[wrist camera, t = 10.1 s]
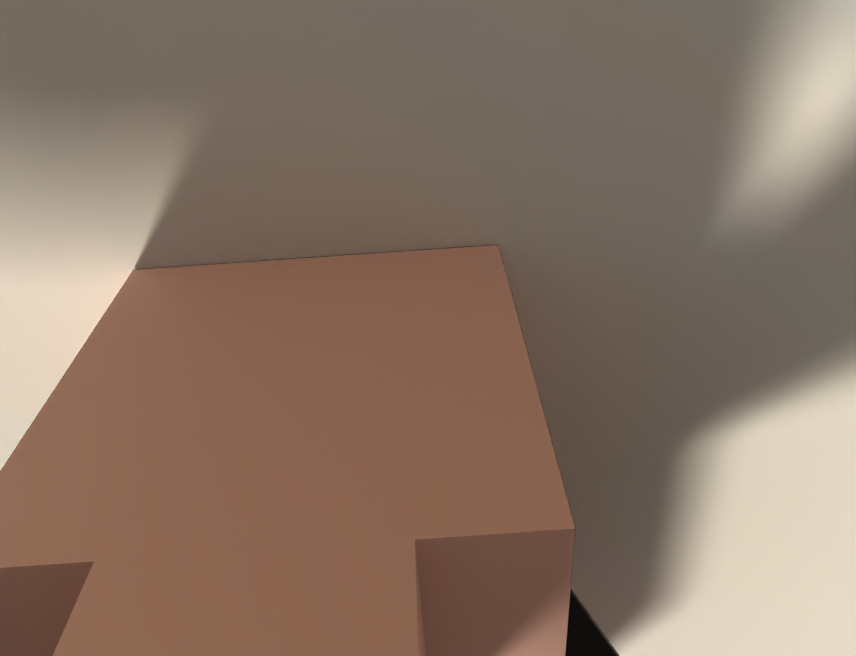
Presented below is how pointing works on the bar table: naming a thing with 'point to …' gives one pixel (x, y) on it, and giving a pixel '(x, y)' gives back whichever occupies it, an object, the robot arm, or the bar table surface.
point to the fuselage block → (293, 470)
